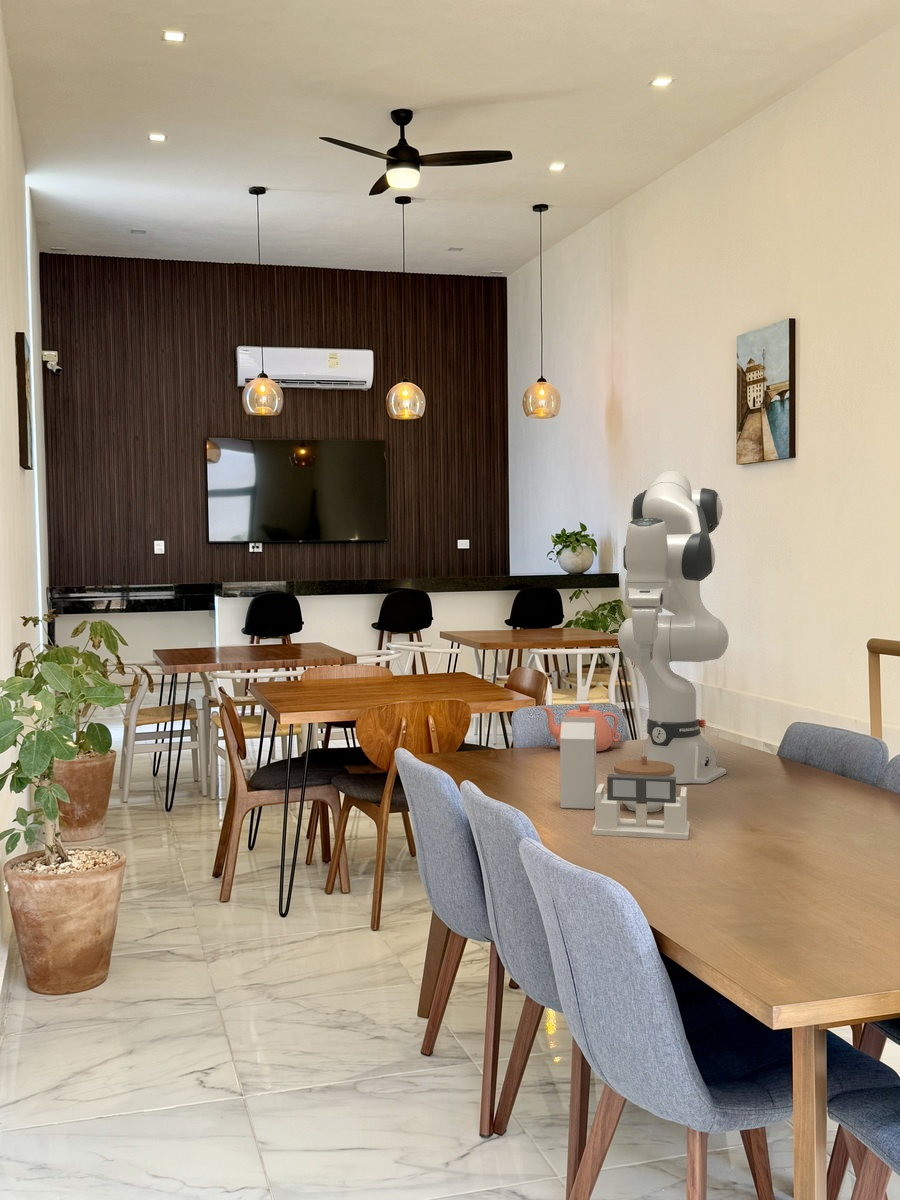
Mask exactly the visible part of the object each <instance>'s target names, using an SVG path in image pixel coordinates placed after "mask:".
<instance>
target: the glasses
mask: <svg viewBox="0 0 900 1200" xmlns="http://www.w3.org/2000/svg"><path fill="white" fill-rule="evenodd" d="M606 782H607V783H606V785H607V786H606V787H607V788H606V791H607V793H606V794H607V800H617V801H620V802H622V801H640V802H662V803H676V797H677V784H676V777H672V776H647V775H621V774H615V773H608V774H607V779H606Z"/></svg>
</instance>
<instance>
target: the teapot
mask: <svg viewBox="0 0 900 1200" xmlns="http://www.w3.org/2000/svg"><path fill="white" fill-rule="evenodd" d="M540 707H541V708H542V709H543V710H544V712H545V713H546V716H547V728H548V731H549V733H550V736H551V737H553V738H554V739H555V740H556V741H555V742H556V743H557V744H558V746H559V747H560V733H561V723H562V720H561V721H560V722H559V725H557V724H556V723H555V717H554V715H555V714H554V712H553V710H552V708H550V707H549V708H548V707H546V706H540ZM590 707H591V705H590V704H587V703H581V704H578V708H579V709H570V710H568V711H566V713H565V714H564V716H563V717H594V718H595V727H596V753H599V752H604V751H606V750H608V749H609V747H611V746H612V744H613V742H614V743H618V742H619V741H621V738H622V737H621V734H620V733H619V732H616V731H617V728H618V724H619V720H618V719H619V718H618V717H617V715H616V714H615V713H613V712H604V713H602V711H600V710H597V709H590ZM606 717H612V718H613V721H614V722H613V727H612V728H611V726H610V723H609V722H608V720H607V718H606ZM615 736H617V737H616V738H615Z"/></svg>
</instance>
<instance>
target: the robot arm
mask: <svg viewBox="0 0 900 1200" xmlns="http://www.w3.org/2000/svg"><path fill="white" fill-rule="evenodd" d="M722 515H723V504H722V500H721V498H720V496H719V493H718V491H716V490H714V489H712V488H711V489H710V488H706V487H702V488H692V485H691V483H690V481H689V479H688V478H687V477H686V475H684V474H683V473H681V472H680V471H677V470H666V471H662V472H661V473H659V474H658V475H657V476H655V477H654V479H653V480H652V481H651V482H650V484H649V486H648V487H647V489H646V490H644V491H643V492H641V493H639V494H637V495H636V496H635V497H634V498H633V501H632V504H631V508H630V517H631V520H630V521H629V522H628V525H627V529H626V537H625V545H624V546H623V555H622V556H623V557H622V558H623V559H622V560H623V568H624V569H625V570H626V575H625V579H624V581H625V582H624V591H625V592H624V596H625V599H624V603H625V605H627V606H628V607H630V614H631V617H629V618H626V619H625V620H624V621H623V622H622V623H621V625H620V627H619V629H618V633H617V643H618V647H619V649H620V651H621V652H622V654H623V655H624V656H625V657H626V658H627V659H628V660H630V661H631V662H632V663H633V664H634V665H635V666H636V667H637V668H638V670H639V672H640V673H641V675H642V676H643V679H644V681H645V684H646V688H647V689H646V690H647V697H648V698H647V699H648V718H647V721H646V734H647V735H648V736H647V738H645V739H644V741H643V751H642V756H647V760H653V761H661V762H666V763H669V764H672V765H673V766H674V767H675V771H674V777H676V785H677V784H678V785H679V784H681V785H682V784H709V783H711V782H712V781H714V780H717V779H718V778H721V777H722V776H723V775H725V774H727V769H726V768H724V767H721V766H717V755H716V754H717V753H716V750H715V748H714V747H713V746H712V745H711V744H710V743H709V742H707V740H706V739H705V738H704V737H703V736H702V735H701V734H702V732H701V728H703V729H705V728H706V725H707V723H706V720H705V719H699V718H697V690H696V687H695V686H694V683H692V682H691V681H690V680H688V679H686V678H685V677H683V676H681V675H679V674H678V673H675V672H674V671H673V670H672V668H671V665H670V663H671V662H672V663H673V662H684V663H685V662H687V663H690V662H691V663H701V662H703V663H704V662H709V661H714V660H715V661H716V660H719V659H720V658H721V657H722V656H723V655H724V654H725V653H726V651H727V649H728V645H729V632H728V629H727V626H726V625H725V623H724V622H723V621H722V620H721V619H720V618H718V617H716V616H715V615H713V614H712V613H711V612H710V611H709V610H708V609H707V608H706V607H705V605H704V604H703V600H702V598H701V589H700V588H701V585H700V584H701V582H702V581H703V580H705V579H706V578H707V577H708V576H709V575H711V574H712V573H713V570H714V567H715V564H716V555H715V554H716V553H715V548H714V545H713V543H712V540H711V536H710V534H711V533H713V532H714V531H715V530H716V529H717V527H718V526H719V525H720V521H721V519H722ZM663 610H665V611H667V612H669V613H671V614H672V615H671V614H670V615H667V614H665V615H664V614H662V615H659V614H661V613H663Z"/></svg>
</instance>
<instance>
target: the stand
mask: <svg viewBox="0 0 900 1200" xmlns="http://www.w3.org/2000/svg"><path fill="white" fill-rule="evenodd" d="M605 785H606V784H605V783H599V784H598V786H597V787H596V792H595V807H594V810H595V811H594V814H595V815H594V817H595V818H594V819H595V820H594V822H595V823H594V824H593V827H592V829H591V830H592V831H591V834H592V835H593V836H595V835H596V836H609V837H610V836H611V837H612V836H614V837H630V838H645V839H646V838H649V839H665V840H666V839H668V840H669V839H670V840H686V841H687V840H689V836H690V824H691V823H690V821H688V809H687V808H688V803H687V802H688V799H687V798H688V796H687V795H688V793H687V792H688V788H687V787H686V786H681V789H680V795H679V796H676V803H665V804H664V806H663V820H662V819H661V820H660V819H648V812H647V802H640V801H637V802H636V811H635V818H624V817H623V818H621V801H617V800H607V793H606V792H605V788H606V787H605Z"/></svg>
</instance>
